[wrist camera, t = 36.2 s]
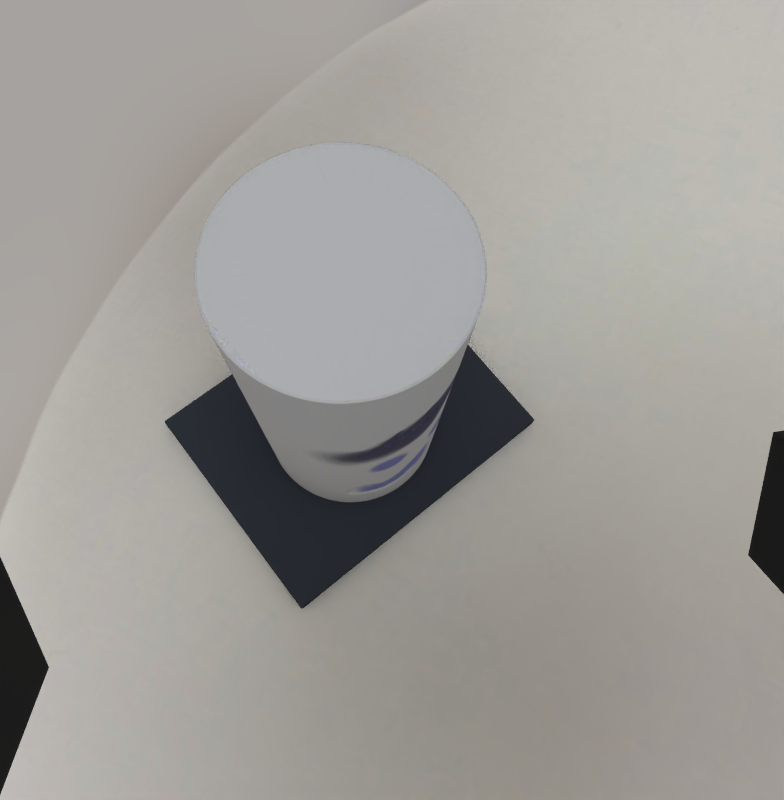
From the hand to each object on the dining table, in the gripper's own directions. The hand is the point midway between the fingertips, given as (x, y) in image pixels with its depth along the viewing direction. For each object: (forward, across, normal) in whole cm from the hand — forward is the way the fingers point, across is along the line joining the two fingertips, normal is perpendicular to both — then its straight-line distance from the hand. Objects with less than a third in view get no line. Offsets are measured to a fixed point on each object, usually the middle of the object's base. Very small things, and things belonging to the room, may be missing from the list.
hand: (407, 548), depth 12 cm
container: (+28, 0, -13) cm, 31 cm away
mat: (+28, 0, -13) cm, 31 cm away
